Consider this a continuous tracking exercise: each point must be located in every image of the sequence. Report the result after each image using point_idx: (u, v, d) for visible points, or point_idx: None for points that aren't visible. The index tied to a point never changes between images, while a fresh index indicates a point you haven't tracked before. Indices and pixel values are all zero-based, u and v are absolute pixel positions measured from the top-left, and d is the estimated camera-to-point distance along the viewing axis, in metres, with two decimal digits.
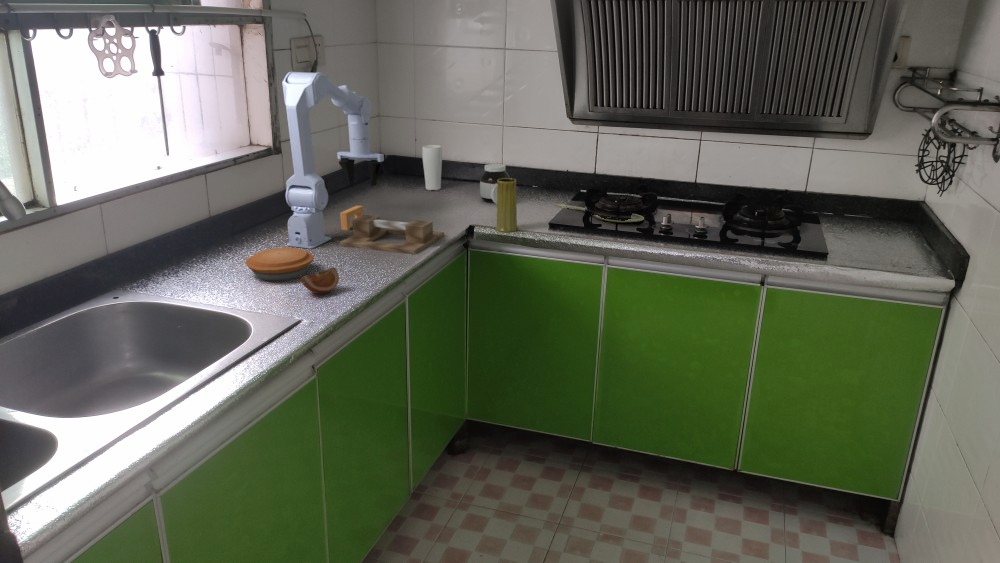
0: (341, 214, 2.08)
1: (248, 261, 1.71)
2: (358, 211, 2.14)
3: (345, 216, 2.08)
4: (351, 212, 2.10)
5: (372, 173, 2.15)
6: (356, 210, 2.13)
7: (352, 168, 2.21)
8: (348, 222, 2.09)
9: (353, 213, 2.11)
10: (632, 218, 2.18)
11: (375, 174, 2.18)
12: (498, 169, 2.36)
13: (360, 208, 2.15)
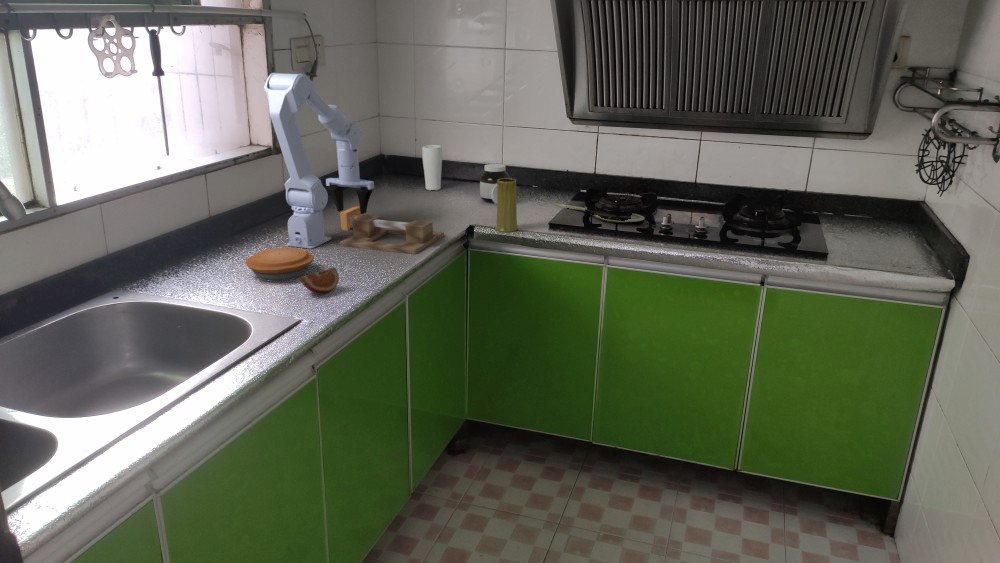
0: (341, 214, 2.08)
1: (248, 261, 1.71)
2: (358, 211, 2.14)
3: (345, 216, 2.08)
4: (351, 212, 2.10)
5: (362, 201, 2.08)
6: (356, 210, 2.13)
7: (341, 195, 2.13)
8: (348, 222, 2.09)
9: (353, 213, 2.11)
10: (632, 218, 2.18)
11: (365, 202, 2.10)
12: (498, 169, 2.36)
13: None
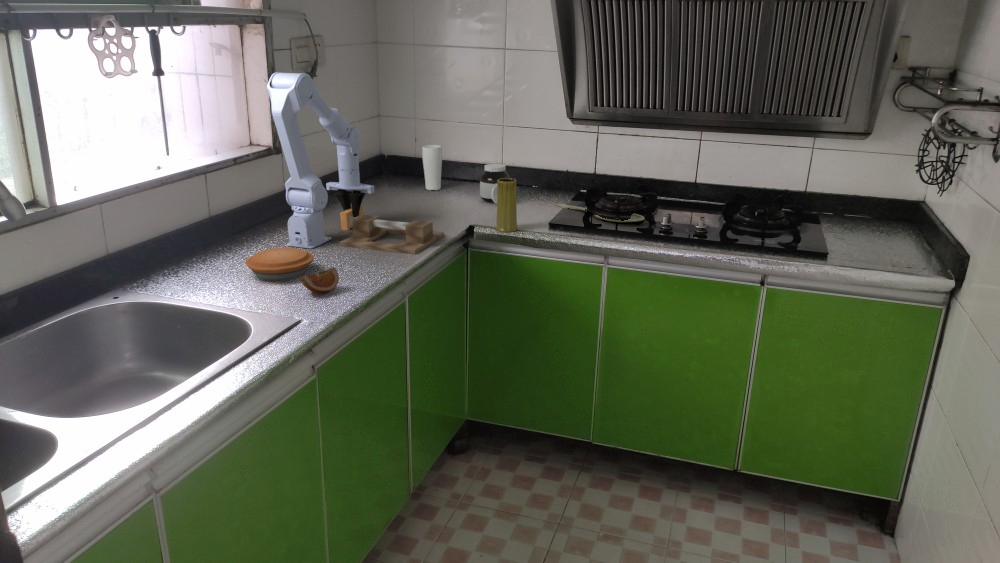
0: (341, 214, 2.08)
1: (248, 261, 1.71)
2: None
3: (345, 216, 2.08)
4: (351, 212, 2.10)
5: (354, 204, 2.09)
6: None
7: (349, 200, 2.13)
8: (348, 222, 2.09)
9: None
10: (632, 218, 2.18)
11: (357, 205, 2.12)
12: (498, 169, 2.36)
13: (360, 208, 2.15)
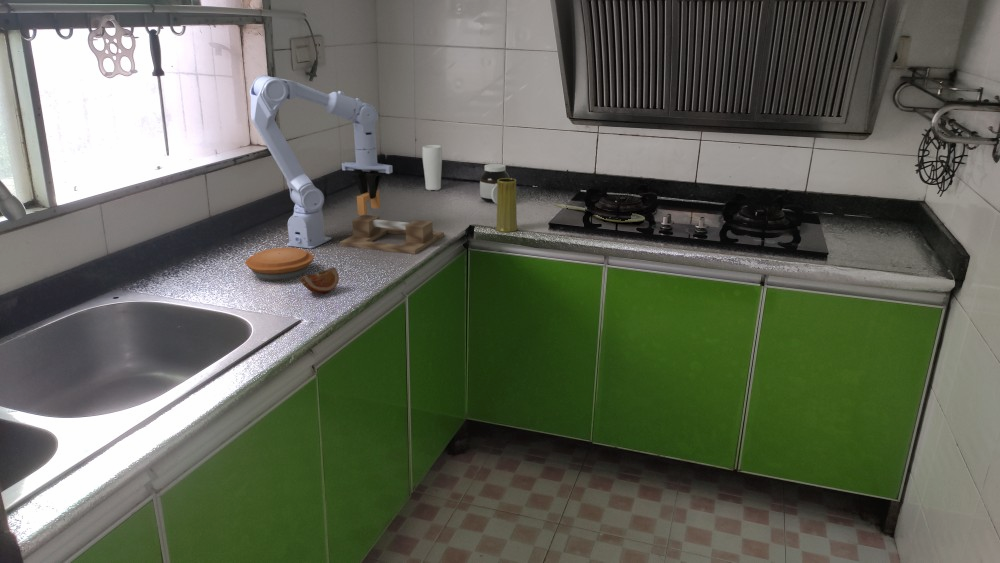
0: (358, 198, 2.00)
1: (248, 261, 1.71)
2: None
3: (362, 200, 1.99)
4: (368, 196, 2.02)
5: (371, 185, 2.00)
6: None
7: (366, 181, 2.04)
8: (365, 206, 2.01)
9: None
10: (633, 218, 2.18)
11: (375, 186, 2.03)
12: (498, 169, 2.36)
13: (377, 192, 2.06)
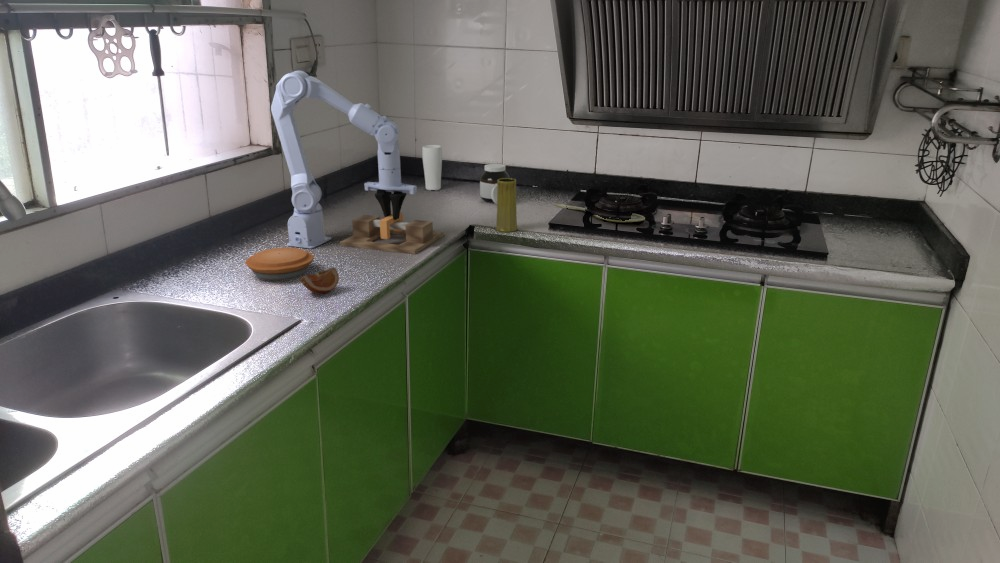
0: (381, 222, 1.94)
1: (248, 261, 1.71)
2: (398, 218, 1.99)
3: (385, 224, 1.93)
4: (391, 219, 1.96)
5: (395, 206, 1.94)
6: None
7: (389, 201, 1.98)
8: (388, 230, 1.95)
9: (393, 220, 1.97)
10: (633, 218, 2.18)
11: (398, 207, 1.97)
12: (498, 169, 2.36)
13: (400, 215, 2.00)
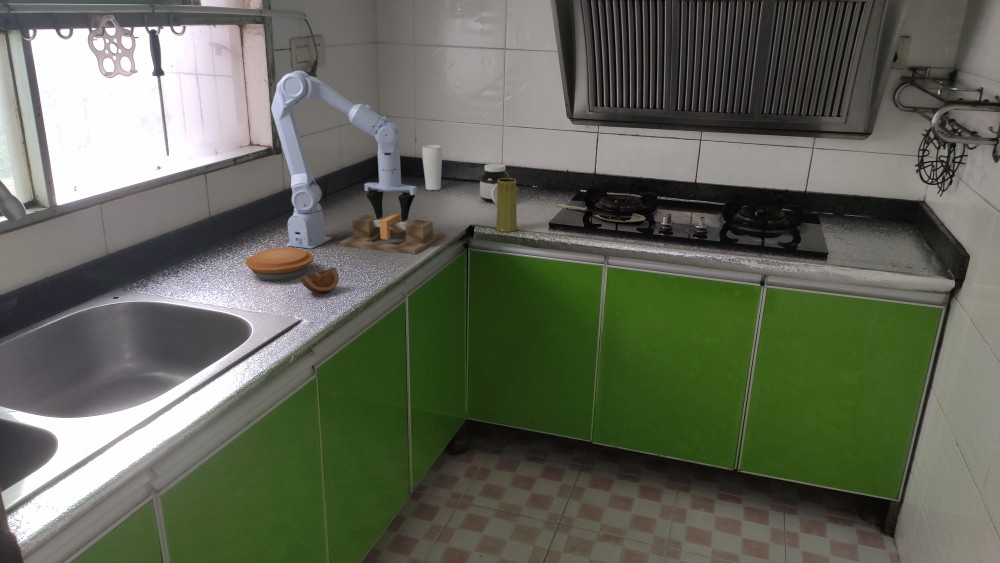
0: (381, 222, 1.94)
1: (248, 261, 1.71)
2: (398, 219, 1.99)
3: (385, 224, 1.93)
4: (391, 220, 1.96)
5: (404, 207, 1.94)
6: (396, 218, 1.98)
7: (381, 201, 1.99)
8: (388, 231, 1.95)
9: (393, 221, 1.97)
10: (633, 218, 2.18)
11: (407, 208, 1.96)
12: (498, 169, 2.36)
13: (400, 215, 2.00)
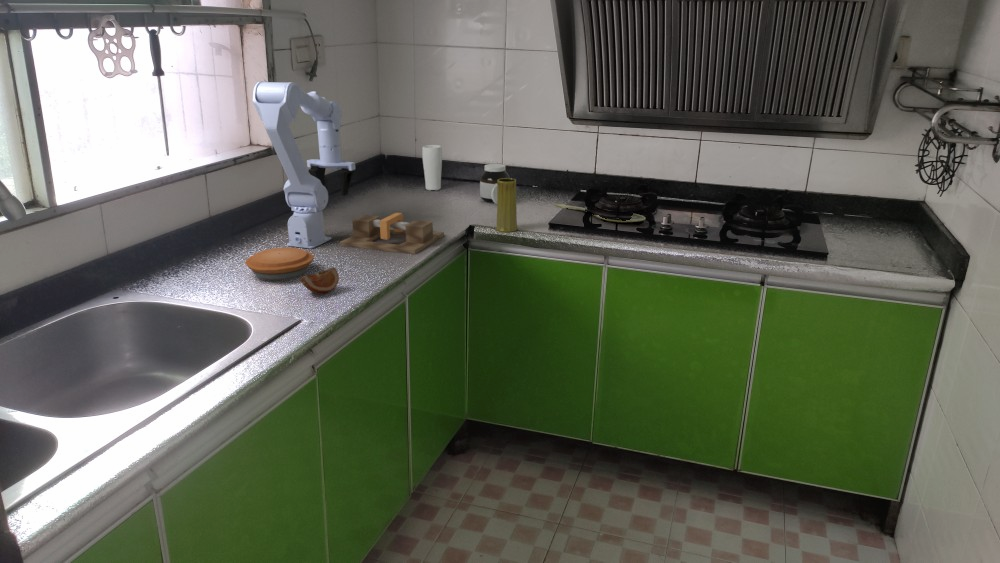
0: (381, 222, 1.94)
1: (248, 261, 1.71)
2: (398, 219, 1.99)
3: (385, 224, 1.93)
4: (391, 220, 1.96)
5: (343, 182, 2.04)
6: (396, 218, 1.98)
7: (323, 177, 2.10)
8: (388, 231, 1.95)
9: (393, 221, 1.97)
10: (633, 218, 2.18)
11: (346, 183, 2.07)
12: (498, 169, 2.36)
13: (400, 215, 2.00)
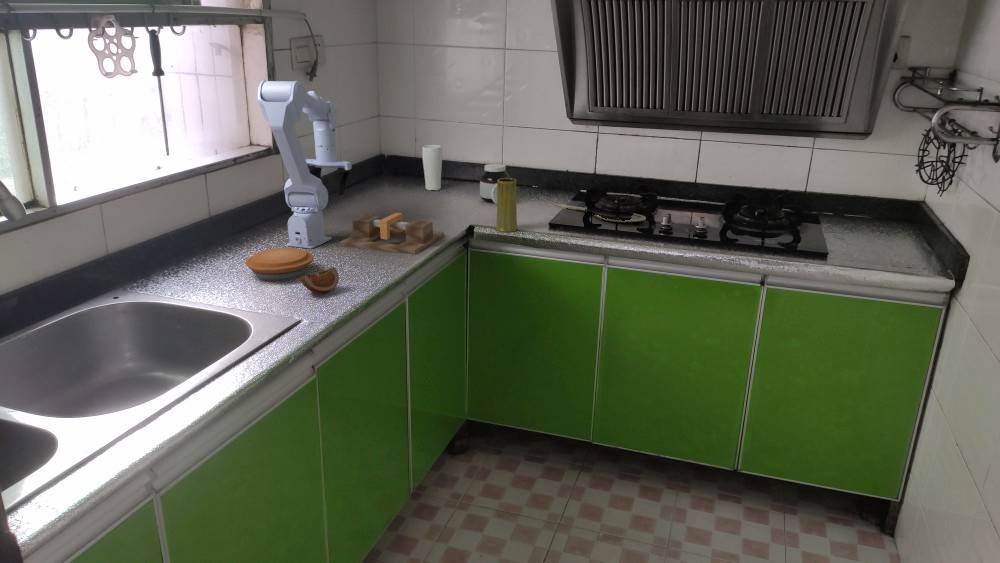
0: (381, 222, 1.94)
1: (248, 261, 1.71)
2: (398, 219, 1.99)
3: (385, 224, 1.93)
4: (391, 220, 1.96)
5: (339, 182, 2.05)
6: (396, 218, 1.98)
7: (319, 176, 2.10)
8: (388, 231, 1.95)
9: (393, 221, 1.97)
10: (633, 218, 2.18)
11: (343, 183, 2.07)
12: (498, 169, 2.36)
13: (400, 215, 2.00)
